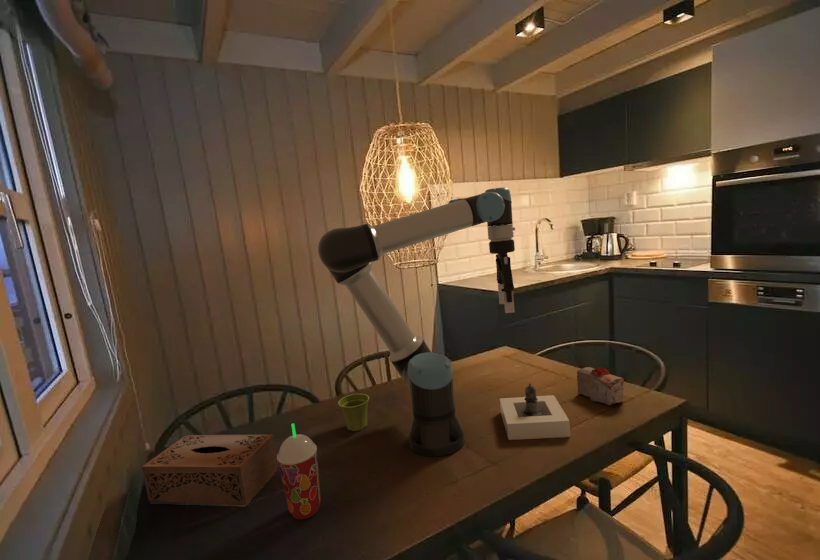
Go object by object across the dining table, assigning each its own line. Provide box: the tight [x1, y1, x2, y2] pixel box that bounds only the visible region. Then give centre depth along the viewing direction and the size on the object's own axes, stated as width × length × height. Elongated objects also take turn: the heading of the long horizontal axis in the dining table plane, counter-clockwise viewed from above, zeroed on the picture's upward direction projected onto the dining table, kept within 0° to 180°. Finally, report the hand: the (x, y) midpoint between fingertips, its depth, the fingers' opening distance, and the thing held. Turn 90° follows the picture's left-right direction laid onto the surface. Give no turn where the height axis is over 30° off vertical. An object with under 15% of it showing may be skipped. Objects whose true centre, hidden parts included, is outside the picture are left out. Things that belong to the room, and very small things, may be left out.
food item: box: [576, 366, 625, 406], centre depth 125 cm, size 14×8×10 cm, turn 25°
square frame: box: [499, 395, 571, 441], centre depth 115 cm, size 16×16×4 cm
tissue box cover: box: [141, 433, 279, 505], centre depth 101 cm, size 26×14×10 cm, turn 80°
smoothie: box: [276, 423, 322, 520], centre depth 87 cm, size 8×8×20 cm
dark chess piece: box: [521, 383, 543, 417], centre depth 114 cm, size 6×6×12 cm
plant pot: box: [337, 393, 370, 432], centre depth 124 cm, size 9×9×9 cm
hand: (506, 308), depth 126 cm, fingers open, 13 cm apart
